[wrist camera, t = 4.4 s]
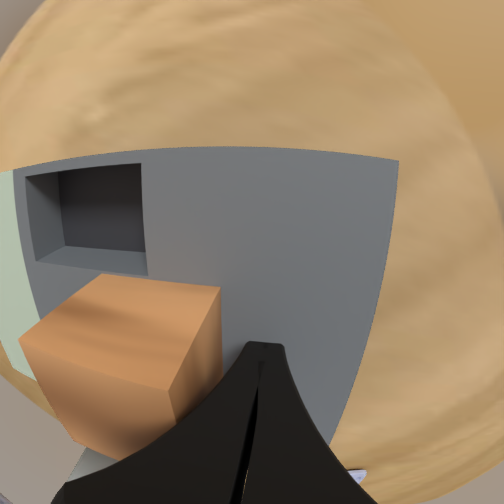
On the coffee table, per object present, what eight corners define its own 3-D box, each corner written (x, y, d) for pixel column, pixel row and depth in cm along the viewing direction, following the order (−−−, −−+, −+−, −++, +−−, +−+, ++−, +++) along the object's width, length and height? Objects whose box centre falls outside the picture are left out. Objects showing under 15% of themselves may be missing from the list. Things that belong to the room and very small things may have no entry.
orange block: (224, 387, 10) (195, 483, 6) (124, 367, 11) (73, 440, 7) (220, 287, 9) (167, 390, 5) (102, 273, 9) (17, 339, 5)
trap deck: (325, 413, 14) (327, 448, 11) (31, 350, 16) (13, 368, 13) (373, 159, 9) (398, 160, 7) (-9, 176, 11) (-37, 183, 9)
